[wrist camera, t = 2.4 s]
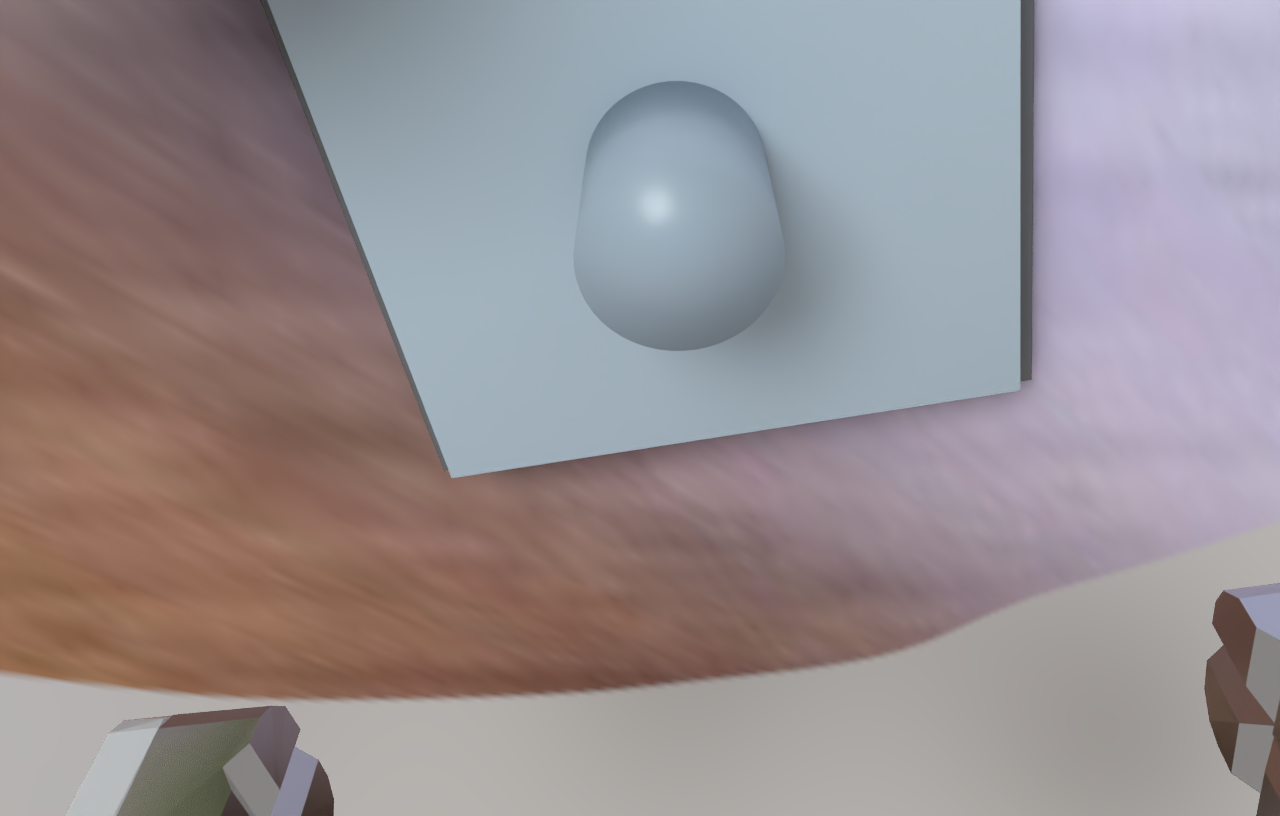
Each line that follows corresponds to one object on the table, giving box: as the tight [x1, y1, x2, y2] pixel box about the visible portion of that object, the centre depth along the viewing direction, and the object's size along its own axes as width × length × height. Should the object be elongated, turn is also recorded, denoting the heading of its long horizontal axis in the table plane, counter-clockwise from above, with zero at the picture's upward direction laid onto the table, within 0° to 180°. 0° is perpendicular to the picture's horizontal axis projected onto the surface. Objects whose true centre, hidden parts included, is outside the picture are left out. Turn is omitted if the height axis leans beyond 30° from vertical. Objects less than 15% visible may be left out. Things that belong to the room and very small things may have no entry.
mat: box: [261, 0, 1034, 470], centre depth 20 cm, size 13×13×1 cm
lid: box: [267, 0, 1021, 478], centre depth 18 cm, size 12×12×4 cm
